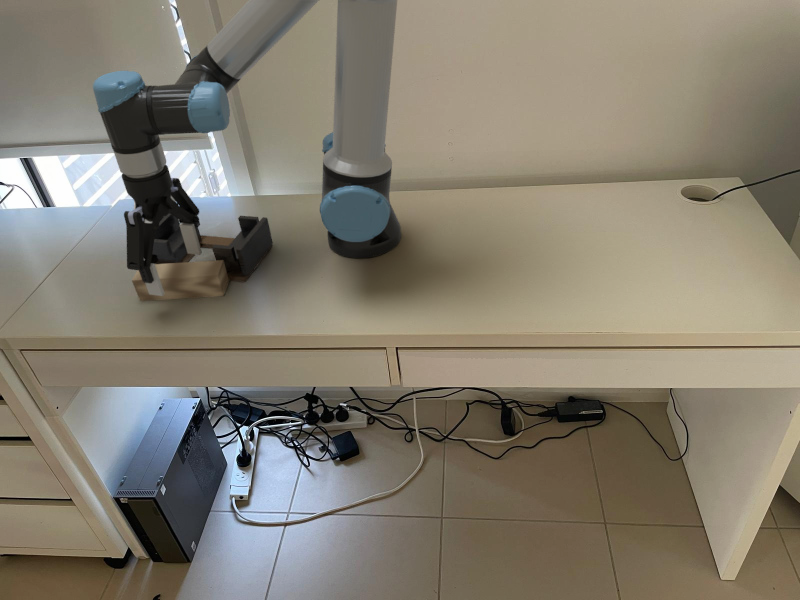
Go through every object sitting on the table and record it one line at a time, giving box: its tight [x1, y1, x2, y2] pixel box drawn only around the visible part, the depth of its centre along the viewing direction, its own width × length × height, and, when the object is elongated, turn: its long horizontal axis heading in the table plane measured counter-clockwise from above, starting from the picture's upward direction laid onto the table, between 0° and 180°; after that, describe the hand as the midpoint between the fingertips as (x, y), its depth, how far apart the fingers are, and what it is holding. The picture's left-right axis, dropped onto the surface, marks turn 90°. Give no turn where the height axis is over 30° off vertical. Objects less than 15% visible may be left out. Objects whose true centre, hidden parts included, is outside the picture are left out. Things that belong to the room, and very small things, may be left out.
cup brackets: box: [151, 213, 274, 283], centre depth 129 cm, size 22×13×7 cm, turn 75°
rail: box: [131, 259, 230, 302], centre depth 121 cm, size 16×5×5 cm, turn 90°
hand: (176, 272), depth 120 cm, fingers open, 13 cm apart
